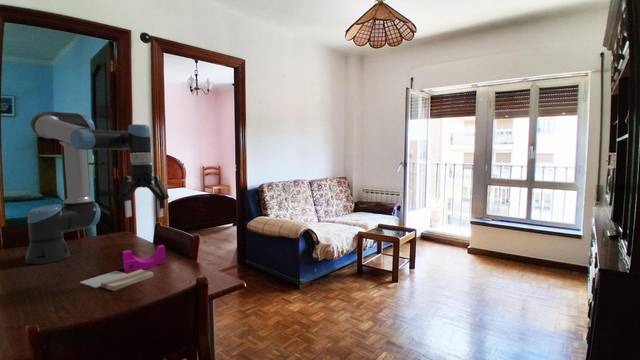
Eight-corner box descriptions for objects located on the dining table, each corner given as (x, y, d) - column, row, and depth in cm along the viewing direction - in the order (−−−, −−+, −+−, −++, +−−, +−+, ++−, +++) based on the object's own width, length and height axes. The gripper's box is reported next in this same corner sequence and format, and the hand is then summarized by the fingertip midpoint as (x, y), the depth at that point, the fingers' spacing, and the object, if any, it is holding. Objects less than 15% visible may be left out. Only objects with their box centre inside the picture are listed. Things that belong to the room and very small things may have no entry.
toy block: (125, 273, 132) (124, 254, 131) (123, 269, 137) (122, 250, 136) (167, 265, 141) (166, 248, 140) (163, 261, 146) (163, 244, 145)
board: (100, 286, 119) (100, 282, 118) (140, 272, 132) (140, 269, 132) (113, 290, 115) (113, 286, 115) (153, 276, 128) (153, 272, 128)
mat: (79, 282, 122) (79, 282, 122) (115, 271, 134) (115, 270, 134) (95, 288, 118) (95, 287, 117) (131, 275, 129) (131, 274, 129)
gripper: (105, 164, 132) (109, 218, 134) (165, 163, 129) (169, 218, 131) (118, 164, 139) (122, 215, 141) (176, 163, 137) (179, 214, 139)
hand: (144, 216), depth 136 cm, fingers open, 13 cm apart
